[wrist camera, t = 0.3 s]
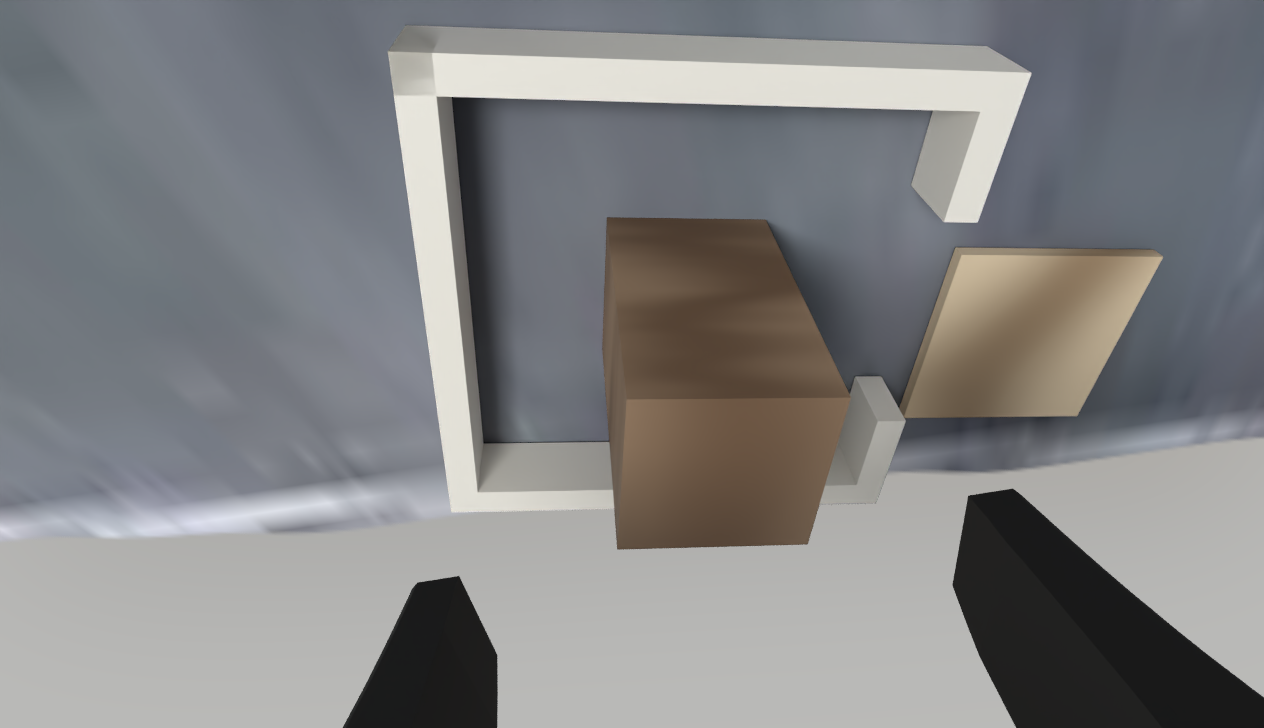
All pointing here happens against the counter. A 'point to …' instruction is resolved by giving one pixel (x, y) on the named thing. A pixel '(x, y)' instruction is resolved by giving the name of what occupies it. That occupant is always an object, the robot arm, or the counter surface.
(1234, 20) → the counter surface
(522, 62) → the white open square frame
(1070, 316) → the cork trivet
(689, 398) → the walnut block
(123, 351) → the counter surface
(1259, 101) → the counter surface
